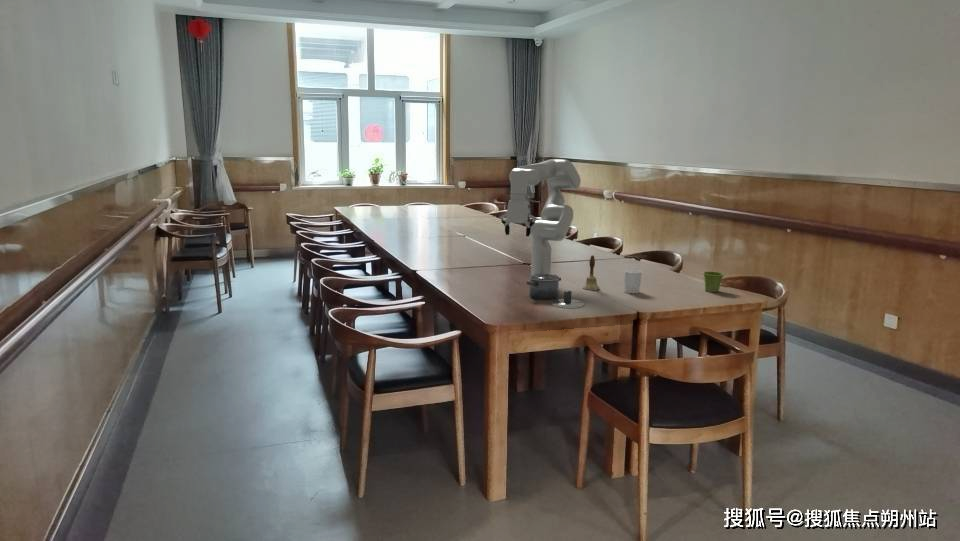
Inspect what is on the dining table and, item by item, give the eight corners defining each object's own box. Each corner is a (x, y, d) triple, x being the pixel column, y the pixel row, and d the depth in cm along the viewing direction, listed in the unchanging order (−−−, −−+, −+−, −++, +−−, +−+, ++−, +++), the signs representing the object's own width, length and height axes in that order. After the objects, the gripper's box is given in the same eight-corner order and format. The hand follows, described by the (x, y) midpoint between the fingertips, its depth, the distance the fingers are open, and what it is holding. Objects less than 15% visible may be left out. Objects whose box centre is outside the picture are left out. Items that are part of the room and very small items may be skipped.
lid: (565, 299, 289) (566, 286, 288) (590, 305, 279) (590, 292, 278) (544, 304, 280) (544, 290, 279) (568, 310, 270) (569, 296, 269)
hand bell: (579, 287, 312) (580, 254, 309) (594, 285, 315) (595, 253, 312) (587, 290, 304) (589, 257, 301) (603, 289, 307) (604, 256, 304)
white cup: (628, 294, 298) (629, 273, 296) (620, 290, 306) (621, 270, 304) (643, 293, 300) (644, 272, 298) (635, 289, 308) (636, 269, 306)
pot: (546, 290, 303) (546, 272, 301) (567, 296, 293) (568, 276, 292) (519, 296, 292) (519, 277, 290) (540, 302, 282) (541, 282, 280)
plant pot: (724, 290, 308) (725, 272, 307) (720, 294, 300) (721, 276, 299) (704, 288, 313) (705, 270, 311) (699, 291, 305) (701, 273, 303)
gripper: (539, 197, 289) (538, 235, 292) (503, 196, 295) (502, 233, 298) (534, 199, 282) (533, 237, 285) (497, 197, 288) (496, 235, 291)
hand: (517, 235), depth 292 cm, fingers open, 9 cm apart
